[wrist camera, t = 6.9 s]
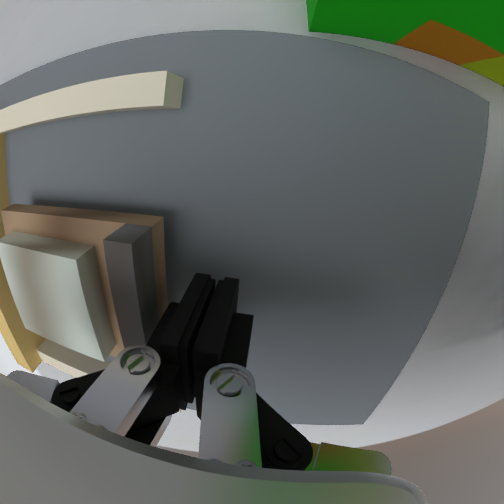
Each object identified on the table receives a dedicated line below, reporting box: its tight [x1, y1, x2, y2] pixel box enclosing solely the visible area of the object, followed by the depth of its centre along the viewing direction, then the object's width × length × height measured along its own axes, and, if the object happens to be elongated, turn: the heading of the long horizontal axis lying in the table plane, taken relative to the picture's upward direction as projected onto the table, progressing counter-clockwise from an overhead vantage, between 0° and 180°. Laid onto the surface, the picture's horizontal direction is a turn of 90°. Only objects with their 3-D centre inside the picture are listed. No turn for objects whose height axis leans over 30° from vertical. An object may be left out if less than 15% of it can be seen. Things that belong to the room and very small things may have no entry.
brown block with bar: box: [0, 204, 168, 362], centre depth 10 cm, size 9×7×4 cm
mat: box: [0, 30, 489, 425], centre depth 11 cm, size 26×21×3 cm
